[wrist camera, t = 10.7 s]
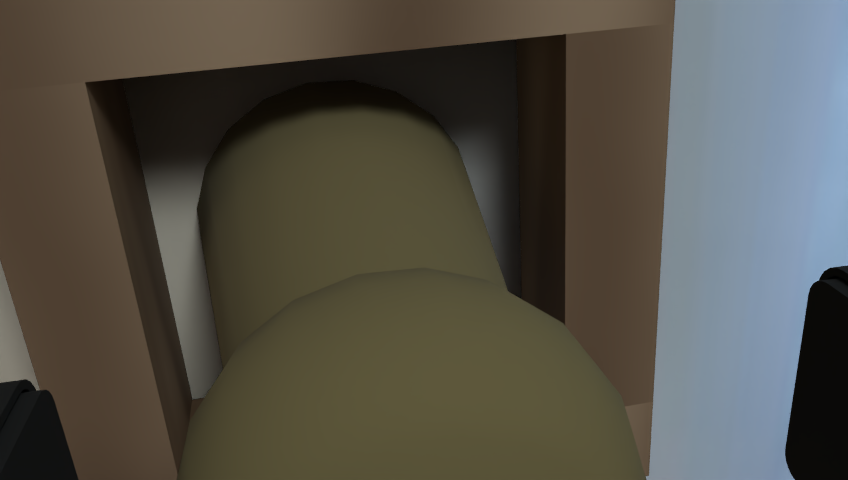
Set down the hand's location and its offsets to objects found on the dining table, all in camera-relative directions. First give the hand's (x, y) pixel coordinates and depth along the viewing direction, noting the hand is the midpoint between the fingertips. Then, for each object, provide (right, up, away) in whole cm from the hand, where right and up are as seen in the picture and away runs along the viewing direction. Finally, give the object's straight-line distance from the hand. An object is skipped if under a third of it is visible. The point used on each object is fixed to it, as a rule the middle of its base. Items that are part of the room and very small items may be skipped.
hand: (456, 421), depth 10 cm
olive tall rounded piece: (-2, +3, +8) cm, 9 cm away
